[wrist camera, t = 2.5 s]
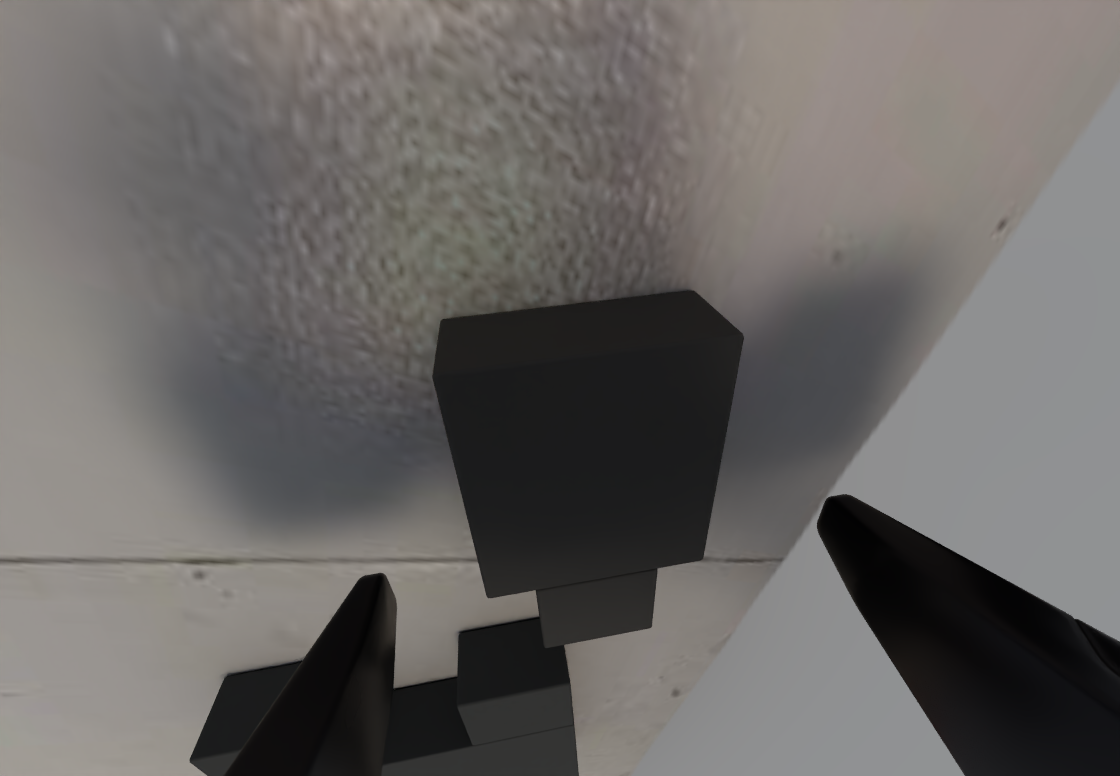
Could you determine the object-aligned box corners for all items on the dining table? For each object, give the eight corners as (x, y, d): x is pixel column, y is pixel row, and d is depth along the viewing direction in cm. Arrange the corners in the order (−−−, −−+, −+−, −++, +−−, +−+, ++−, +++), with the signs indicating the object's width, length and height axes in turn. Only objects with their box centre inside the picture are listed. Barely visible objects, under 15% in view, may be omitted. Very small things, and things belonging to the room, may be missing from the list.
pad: (694, 288, 11) (746, 334, 9) (664, 554, 16) (692, 621, 14) (439, 317, 10) (430, 374, 8) (497, 583, 16) (501, 658, 14)
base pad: (558, 613, 17) (570, 684, 15) (572, 741, 24) (581, 803, 22) (224, 675, 16) (187, 762, 14) (335, 793, 23) (321, 863, 21)
